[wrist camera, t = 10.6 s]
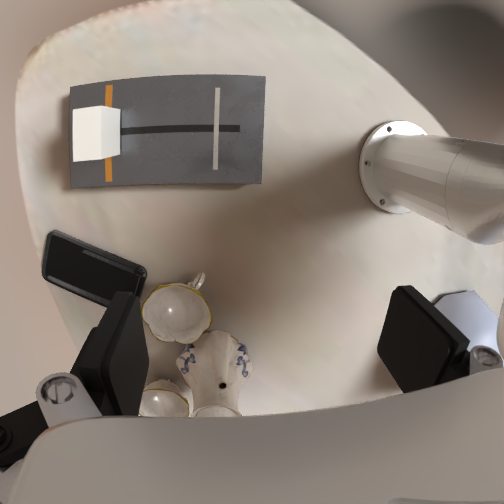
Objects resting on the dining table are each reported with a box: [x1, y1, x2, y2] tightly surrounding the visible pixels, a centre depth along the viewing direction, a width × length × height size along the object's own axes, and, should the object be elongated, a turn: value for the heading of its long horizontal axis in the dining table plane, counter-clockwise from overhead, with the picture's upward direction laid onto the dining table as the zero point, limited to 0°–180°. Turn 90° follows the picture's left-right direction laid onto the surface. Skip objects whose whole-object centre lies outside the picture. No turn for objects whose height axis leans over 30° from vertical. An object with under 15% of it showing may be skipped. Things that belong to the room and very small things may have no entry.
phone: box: [42, 230, 147, 308], centre depth 39 cm, size 8×1×15 cm
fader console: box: [69, 75, 266, 188], centre depth 32 cm, size 22×12×3 cm, turn 88°
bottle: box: [434, 290, 504, 367], centre depth 42 cm, size 20×20×19 cm
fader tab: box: [73, 106, 120, 162], centre depth 27 cm, size 3×5×6 cm, turn 178°
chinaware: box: [139, 272, 253, 417], centre depth 38 cm, size 28×17×17 cm, turn 170°
